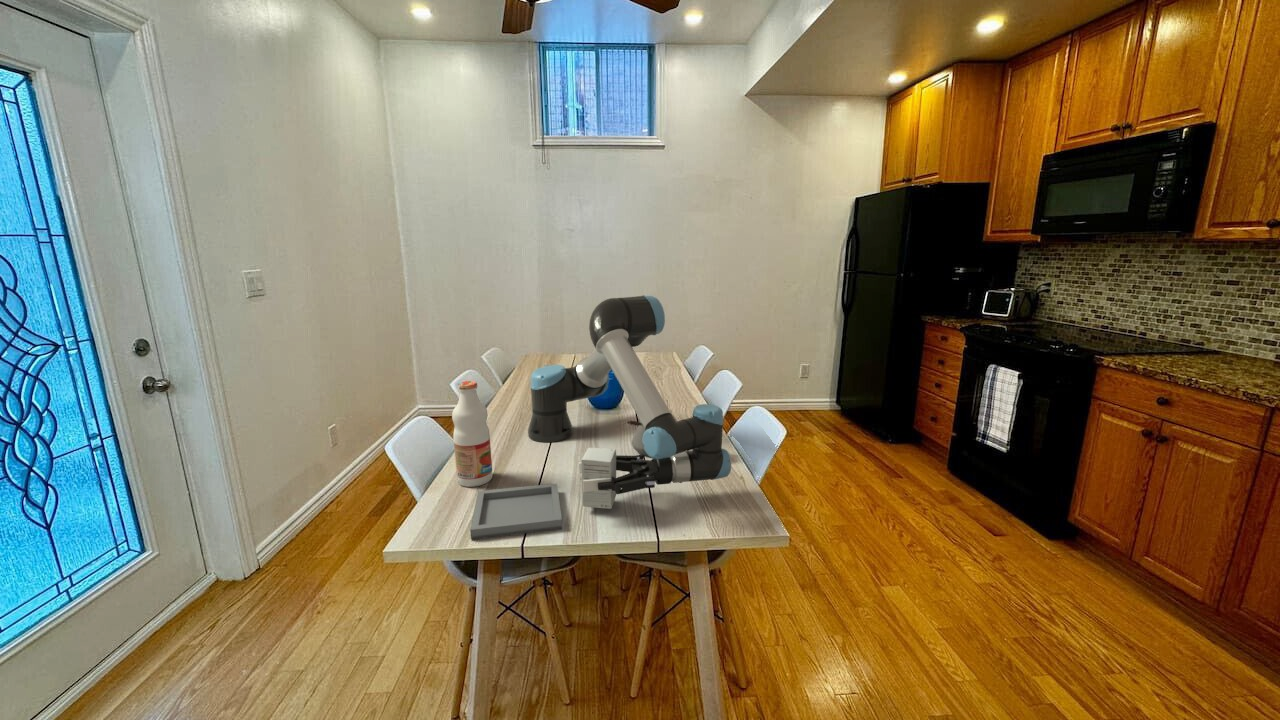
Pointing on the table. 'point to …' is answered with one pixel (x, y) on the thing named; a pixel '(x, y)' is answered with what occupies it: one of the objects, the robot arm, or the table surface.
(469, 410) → the fruit juice
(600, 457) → the supplement box
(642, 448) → the coffee pot
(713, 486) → the table surface
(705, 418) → the robot arm
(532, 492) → the tray
